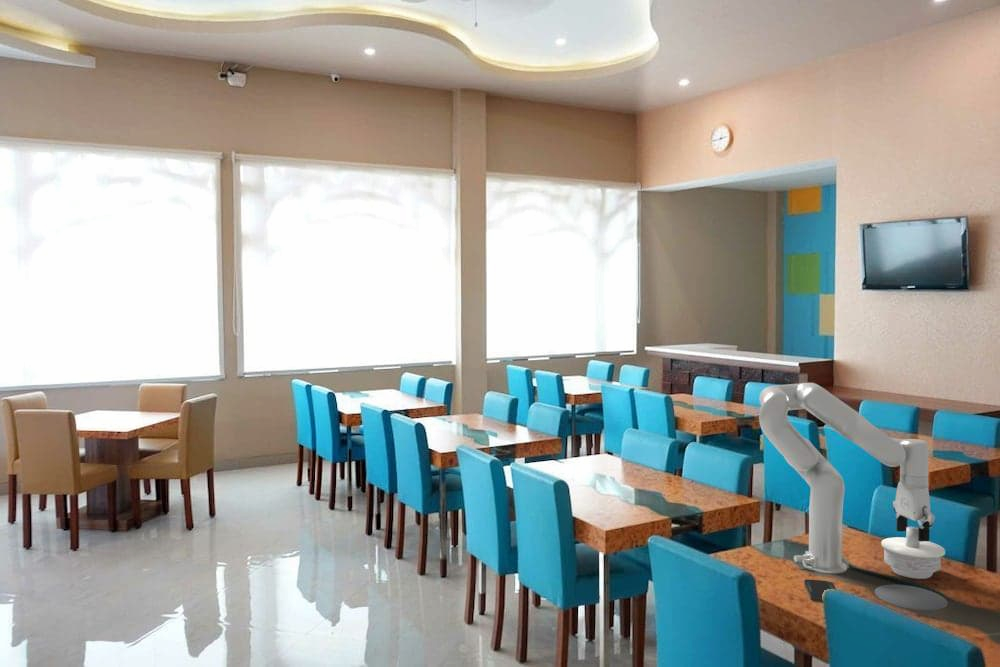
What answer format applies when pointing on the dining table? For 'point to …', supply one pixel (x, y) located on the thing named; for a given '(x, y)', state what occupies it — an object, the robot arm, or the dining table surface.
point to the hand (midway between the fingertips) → (912, 535)
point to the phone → (817, 588)
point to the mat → (911, 597)
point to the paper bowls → (912, 565)
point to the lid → (913, 545)
